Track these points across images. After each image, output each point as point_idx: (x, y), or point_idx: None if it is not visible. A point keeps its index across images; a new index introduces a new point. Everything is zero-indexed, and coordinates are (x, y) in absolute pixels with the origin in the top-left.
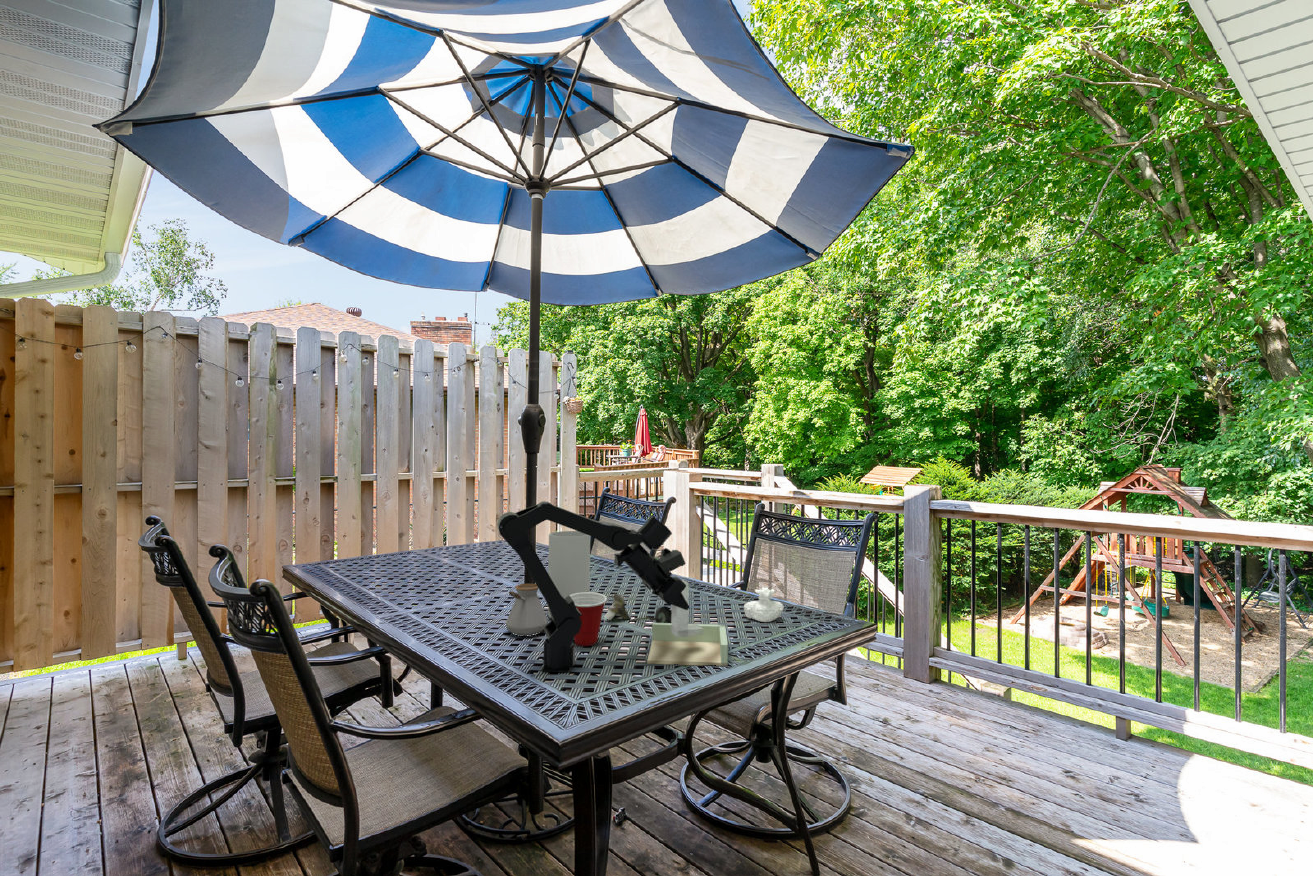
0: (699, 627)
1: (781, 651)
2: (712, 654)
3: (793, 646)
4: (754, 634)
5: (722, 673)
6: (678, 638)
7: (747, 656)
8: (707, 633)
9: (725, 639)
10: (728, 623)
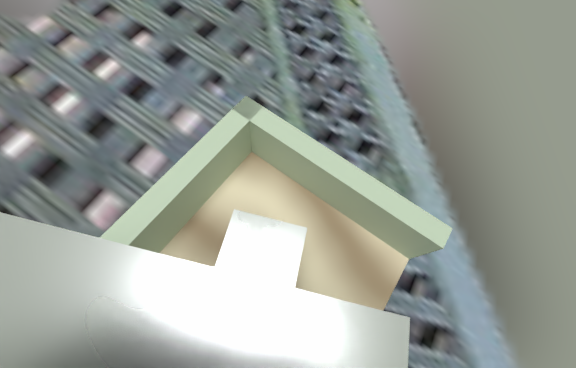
0: (283, 231)
1: (366, 65)
2: (333, 236)
3: (349, 28)
4: (231, 34)
5: (457, 295)
6: None
7: (362, 147)
8: (222, 165)
9: (391, 194)
10: (112, 24)
